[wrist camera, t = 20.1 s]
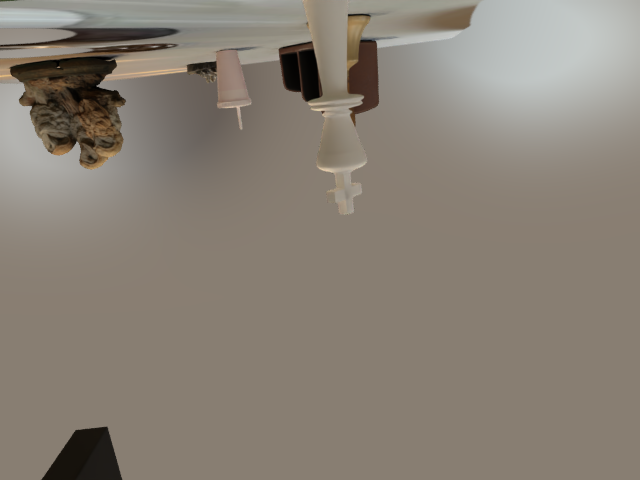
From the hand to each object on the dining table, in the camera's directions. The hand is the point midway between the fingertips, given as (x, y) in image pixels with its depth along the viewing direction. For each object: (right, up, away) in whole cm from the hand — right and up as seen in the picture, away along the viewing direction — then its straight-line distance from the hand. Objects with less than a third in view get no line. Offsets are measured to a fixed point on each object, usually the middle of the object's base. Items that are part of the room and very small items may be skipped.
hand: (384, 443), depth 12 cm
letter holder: (0, +44, +89) cm, 99 cm away
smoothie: (-18, +39, +79) cm, 90 cm away
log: (-28, +46, +106) cm, 119 cm away
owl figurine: (-42, +33, +67) cm, 86 cm away
